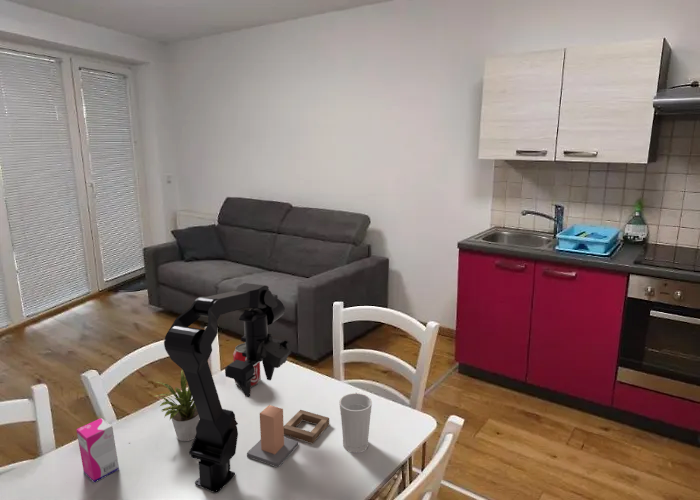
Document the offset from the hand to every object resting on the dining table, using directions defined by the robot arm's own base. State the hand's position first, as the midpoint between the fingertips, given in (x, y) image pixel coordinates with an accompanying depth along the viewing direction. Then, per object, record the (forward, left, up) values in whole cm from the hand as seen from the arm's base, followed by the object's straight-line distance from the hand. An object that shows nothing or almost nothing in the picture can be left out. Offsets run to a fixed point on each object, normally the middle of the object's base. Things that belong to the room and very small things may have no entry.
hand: (258, 388), depth 120 cm
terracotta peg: (-6, -8, -11) cm, 15 cm away
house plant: (-10, +17, -12) cm, 23 cm away
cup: (+5, -25, -12) cm, 29 cm away
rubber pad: (-6, -8, -12) cm, 16 cm away
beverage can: (+18, +18, -12) cm, 28 cm away
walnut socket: (+5, -11, -12) cm, 17 cm away
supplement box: (-29, +24, -12) cm, 40 cm away
